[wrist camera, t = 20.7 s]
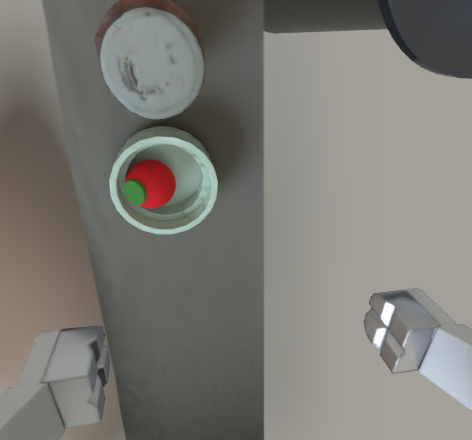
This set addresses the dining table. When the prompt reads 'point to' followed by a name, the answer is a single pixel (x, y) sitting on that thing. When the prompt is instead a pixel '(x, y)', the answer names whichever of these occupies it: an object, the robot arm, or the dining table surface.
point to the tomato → (150, 184)
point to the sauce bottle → (151, 57)
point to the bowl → (185, 172)
